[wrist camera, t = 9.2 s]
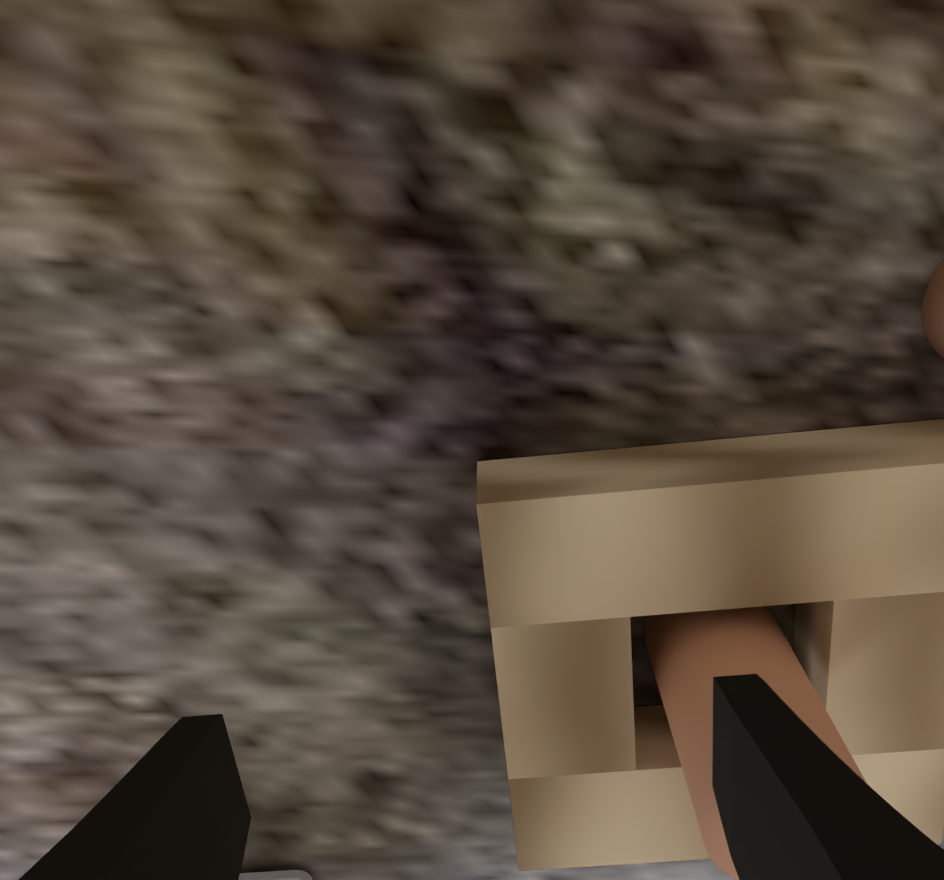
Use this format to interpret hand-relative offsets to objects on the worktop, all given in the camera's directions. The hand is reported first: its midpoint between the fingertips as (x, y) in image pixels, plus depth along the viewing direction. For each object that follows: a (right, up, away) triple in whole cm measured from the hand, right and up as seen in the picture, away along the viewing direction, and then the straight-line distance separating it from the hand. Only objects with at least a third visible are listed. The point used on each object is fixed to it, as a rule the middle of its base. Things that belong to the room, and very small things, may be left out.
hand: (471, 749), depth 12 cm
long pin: (+7, -1, +12) cm, 13 cm away
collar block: (+7, -1, +12) cm, 13 cm away
